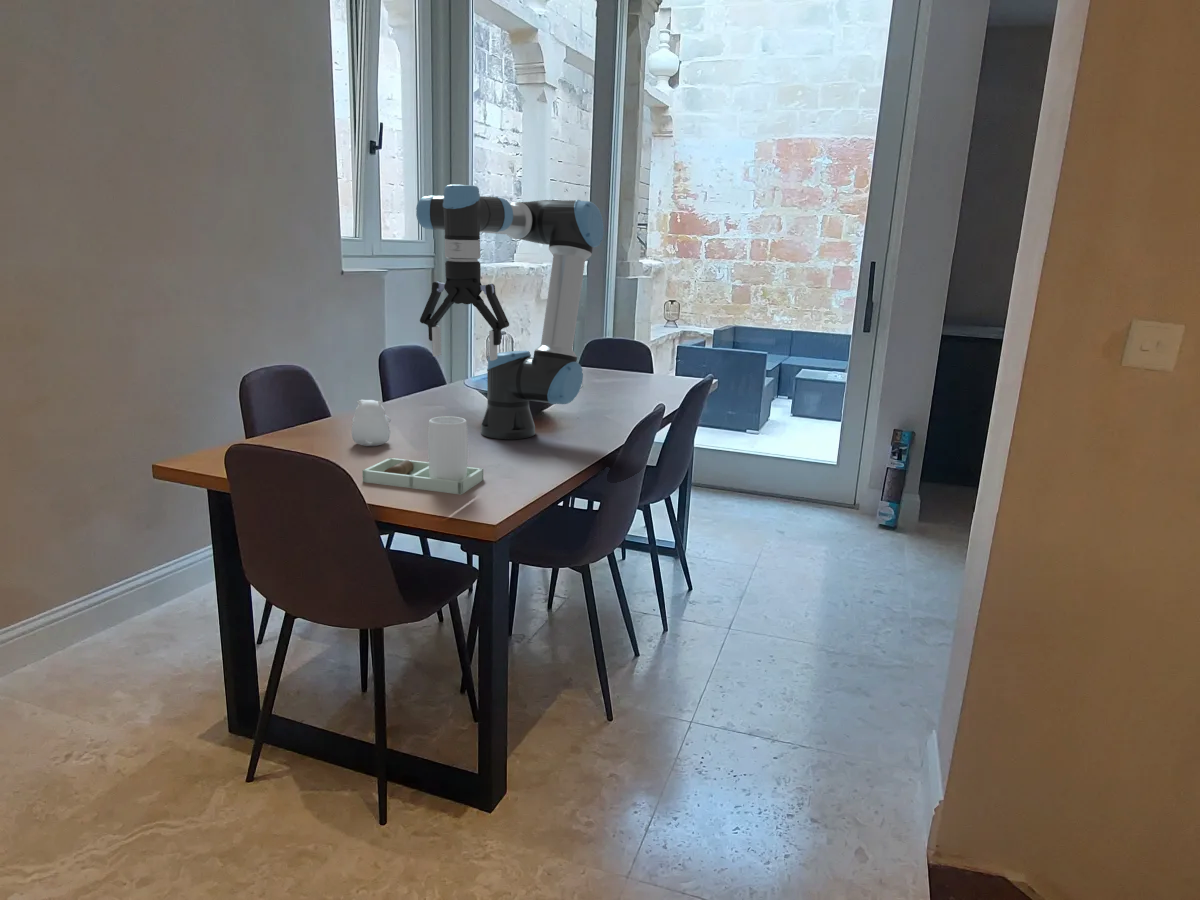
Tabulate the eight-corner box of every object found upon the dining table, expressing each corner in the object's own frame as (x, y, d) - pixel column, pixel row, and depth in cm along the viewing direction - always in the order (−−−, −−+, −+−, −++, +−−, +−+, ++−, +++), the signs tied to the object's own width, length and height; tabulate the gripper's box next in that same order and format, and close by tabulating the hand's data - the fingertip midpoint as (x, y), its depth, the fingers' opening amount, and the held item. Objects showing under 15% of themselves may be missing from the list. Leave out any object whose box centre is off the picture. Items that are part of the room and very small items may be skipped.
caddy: (390, 470, 182) (389, 457, 181) (483, 481, 176) (483, 468, 175) (362, 483, 171) (362, 470, 170) (461, 496, 165) (461, 482, 165)
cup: (442, 475, 177) (442, 414, 174) (475, 481, 174) (475, 419, 171) (420, 485, 170) (419, 421, 166) (453, 491, 167) (453, 426, 163)
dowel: (404, 474, 179) (399, 461, 179) (415, 471, 178) (410, 458, 178) (386, 483, 171) (381, 470, 171) (397, 480, 171) (392, 467, 170)
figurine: (389, 450, 199) (387, 403, 196) (348, 450, 197) (347, 403, 194) (392, 440, 208) (391, 396, 205) (354, 440, 207) (352, 395, 204)
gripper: (401, 258, 169) (406, 356, 175) (511, 263, 164) (511, 364, 170) (418, 257, 176) (421, 351, 182) (523, 261, 171) (523, 358, 176)
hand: (465, 357), depth 176 cm, fingers open, 13 cm apart
